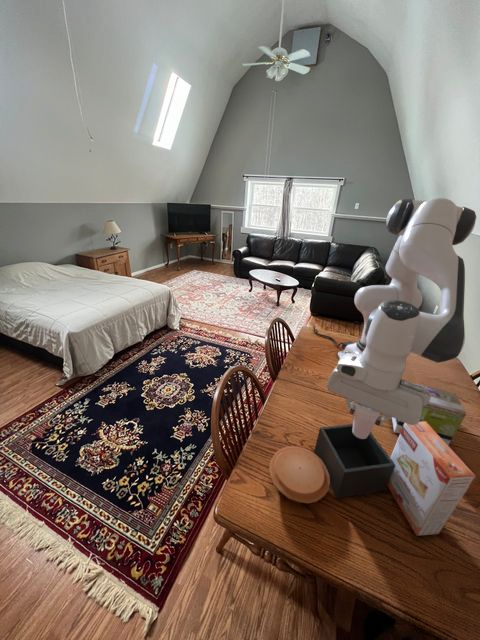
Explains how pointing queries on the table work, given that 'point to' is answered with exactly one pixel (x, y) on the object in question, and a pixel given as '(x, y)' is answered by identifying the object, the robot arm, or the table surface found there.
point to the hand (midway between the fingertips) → (364, 417)
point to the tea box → (439, 414)
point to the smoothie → (364, 420)
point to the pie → (299, 474)
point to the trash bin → (353, 461)
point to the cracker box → (427, 478)
